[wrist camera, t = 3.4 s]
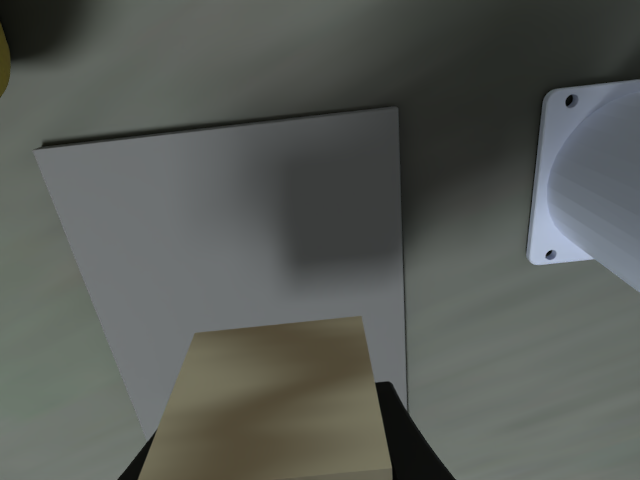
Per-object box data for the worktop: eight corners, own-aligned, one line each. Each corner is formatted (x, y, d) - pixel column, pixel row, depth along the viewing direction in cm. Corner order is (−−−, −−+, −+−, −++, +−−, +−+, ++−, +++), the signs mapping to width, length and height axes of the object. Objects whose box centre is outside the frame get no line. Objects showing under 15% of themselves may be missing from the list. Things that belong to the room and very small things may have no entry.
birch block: (361, 315, 13) (392, 467, 8) (370, 435, 15) (398, 609, 10) (194, 333, 13) (132, 492, 8) (227, 449, 15) (191, 628, 10)
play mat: (395, 106, 18) (398, 108, 17) (407, 487, 28) (409, 496, 27) (40, 146, 18) (32, 150, 17) (179, 509, 28) (177, 518, 27)
